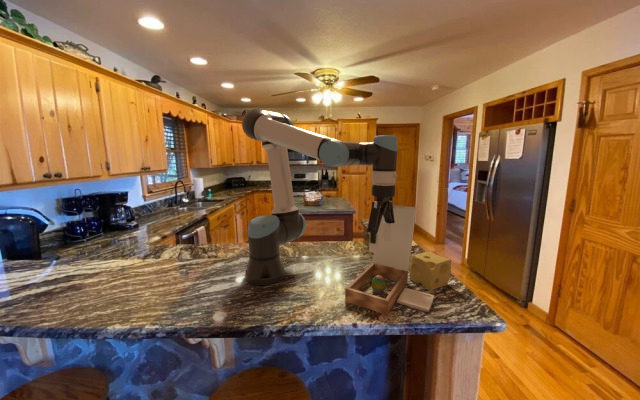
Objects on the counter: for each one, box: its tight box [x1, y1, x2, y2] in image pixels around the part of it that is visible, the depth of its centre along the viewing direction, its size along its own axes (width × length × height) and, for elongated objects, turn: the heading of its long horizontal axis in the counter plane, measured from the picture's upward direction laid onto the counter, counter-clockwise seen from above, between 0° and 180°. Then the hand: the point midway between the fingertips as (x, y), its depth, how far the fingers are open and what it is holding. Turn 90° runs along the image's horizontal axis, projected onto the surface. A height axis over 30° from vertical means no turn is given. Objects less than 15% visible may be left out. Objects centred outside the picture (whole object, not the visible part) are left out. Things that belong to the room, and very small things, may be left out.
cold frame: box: [344, 262, 409, 316], centre depth 92 cm, size 14×29×14 cm, turn 148°
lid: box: [371, 204, 417, 272], centre depth 102 cm, size 14×24×1 cm
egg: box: [371, 275, 387, 295], centre depth 91 cm, size 5×5×6 cm
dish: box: [396, 287, 435, 313], centre depth 85 cm, size 10×10×1 cm
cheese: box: [409, 251, 452, 292], centre depth 98 cm, size 10×11×10 cm
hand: (380, 246), depth 88 cm, fingers open, 13 cm apart
